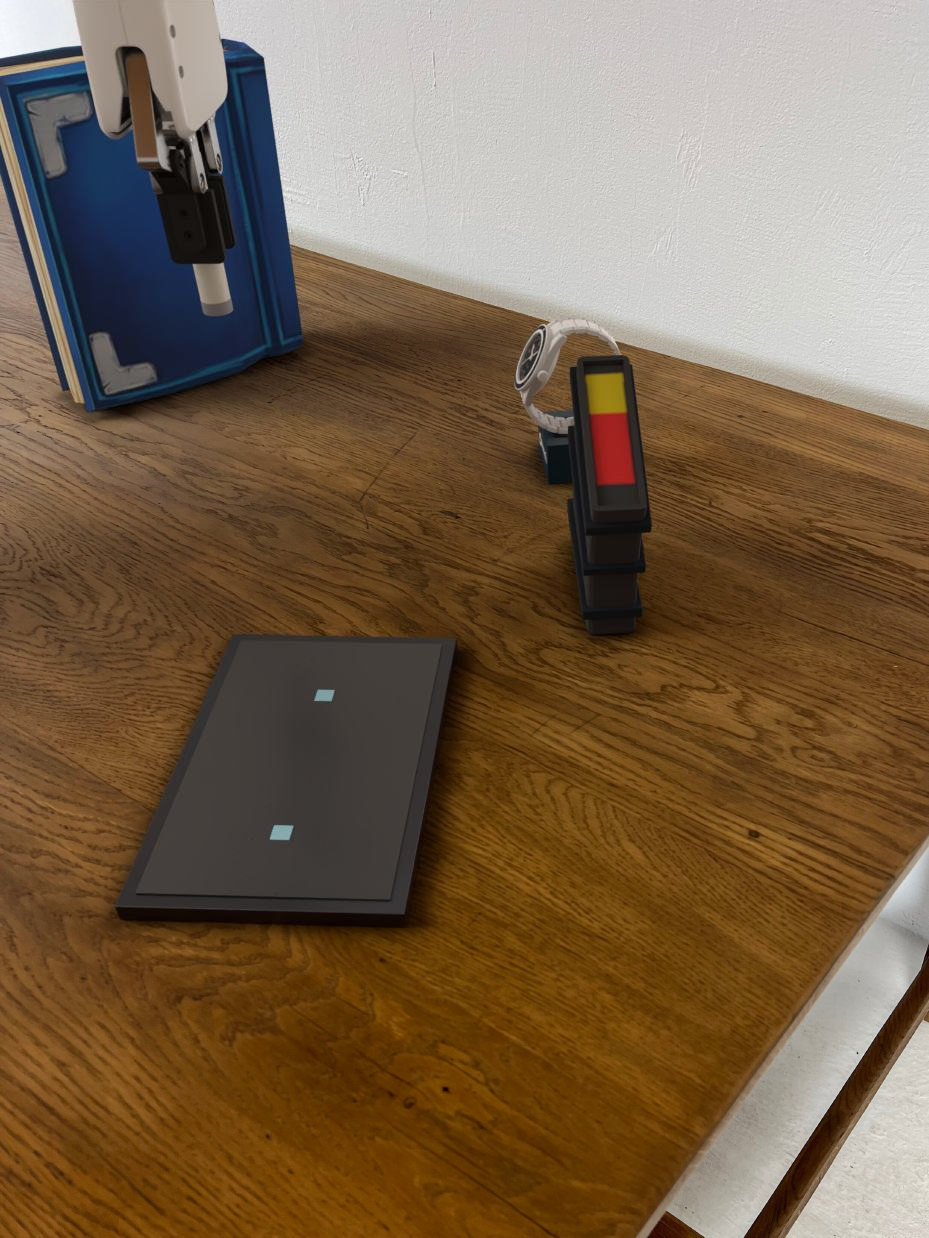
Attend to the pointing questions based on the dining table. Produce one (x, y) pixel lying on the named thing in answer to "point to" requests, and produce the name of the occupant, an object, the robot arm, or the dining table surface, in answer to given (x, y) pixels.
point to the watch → (534, 376)
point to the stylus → (212, 285)
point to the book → (140, 237)
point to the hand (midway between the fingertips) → (205, 252)
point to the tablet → (300, 785)
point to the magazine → (607, 493)
